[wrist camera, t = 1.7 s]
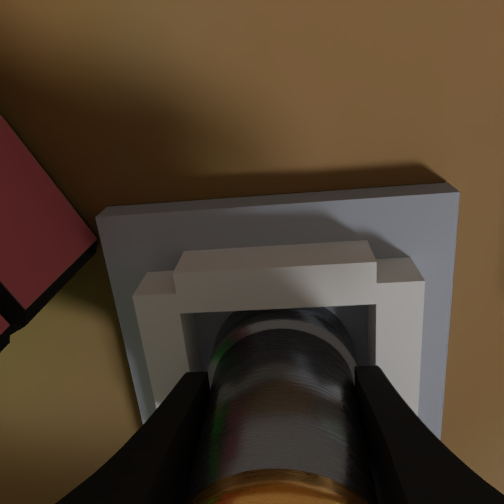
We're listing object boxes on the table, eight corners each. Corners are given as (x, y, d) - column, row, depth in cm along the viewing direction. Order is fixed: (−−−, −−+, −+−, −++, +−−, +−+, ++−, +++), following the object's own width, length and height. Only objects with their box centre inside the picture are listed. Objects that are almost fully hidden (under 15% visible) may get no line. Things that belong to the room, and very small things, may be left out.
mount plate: (429, 450, 17) (451, 512, 15) (161, 455, 18) (143, 513, 16) (448, 182, 13) (481, 209, 11) (107, 206, 14) (73, 235, 12)
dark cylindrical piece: (354, 410, 15) (403, 666, 9) (221, 414, 16) (178, 660, 9) (353, 291, 14) (411, 501, 7) (204, 299, 14) (137, 502, 8)
